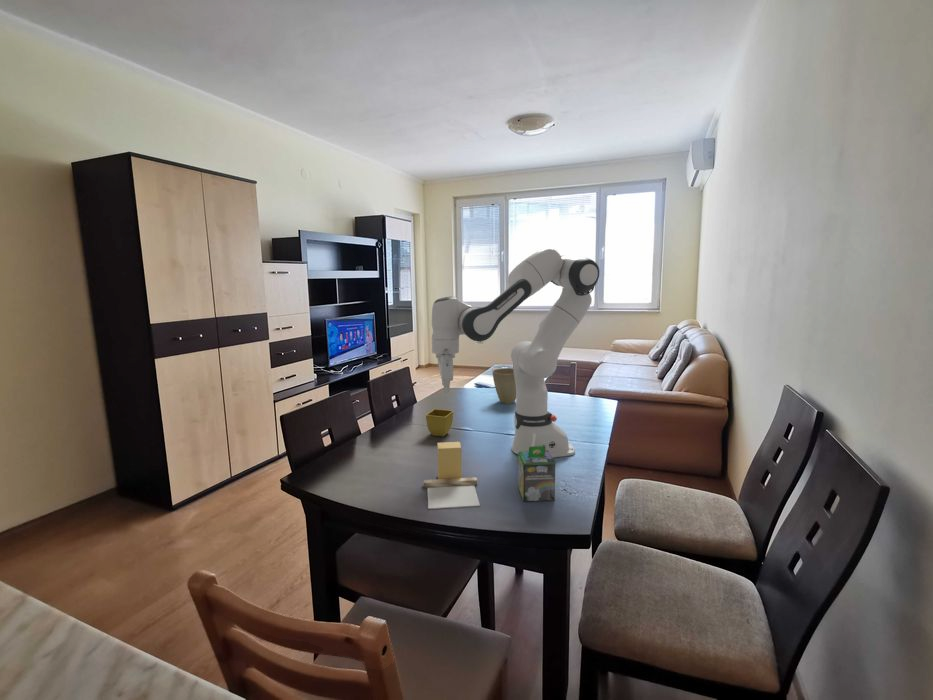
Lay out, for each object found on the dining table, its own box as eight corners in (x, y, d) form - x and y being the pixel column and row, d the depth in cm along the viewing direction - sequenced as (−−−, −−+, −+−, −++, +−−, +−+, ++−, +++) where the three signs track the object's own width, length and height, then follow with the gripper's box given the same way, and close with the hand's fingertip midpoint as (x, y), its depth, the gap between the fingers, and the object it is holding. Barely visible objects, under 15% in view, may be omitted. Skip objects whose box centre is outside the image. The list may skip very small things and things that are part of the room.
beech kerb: (476, 481, 136) (476, 477, 136) (477, 484, 134) (477, 480, 134) (423, 484, 134) (423, 480, 134) (424, 487, 132) (423, 483, 132)
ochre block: (460, 474, 141) (459, 441, 139) (461, 481, 136) (461, 447, 134) (438, 475, 140) (437, 442, 139) (438, 483, 135) (438, 448, 134)
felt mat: (474, 486, 133) (474, 485, 133) (479, 506, 121) (479, 505, 121) (427, 488, 132) (427, 487, 132) (428, 509, 120) (428, 508, 120)
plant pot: (507, 396, 236) (507, 366, 233) (527, 402, 224) (528, 371, 222) (486, 401, 226) (486, 370, 224) (506, 407, 215) (506, 375, 213)
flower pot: (446, 439, 173) (445, 416, 172) (425, 436, 176) (425, 414, 174) (454, 431, 181) (453, 410, 180) (434, 429, 184) (433, 408, 183)
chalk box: (548, 486, 133) (549, 438, 130) (555, 501, 124) (556, 450, 121) (517, 487, 132) (517, 439, 130) (522, 502, 123) (523, 451, 121)
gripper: (457, 351, 134) (457, 396, 136) (452, 342, 154) (453, 381, 157) (436, 352, 134) (437, 396, 136) (434, 343, 154) (435, 382, 156)
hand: (445, 388), depth 146 cm, fingers open, 8 cm apart
